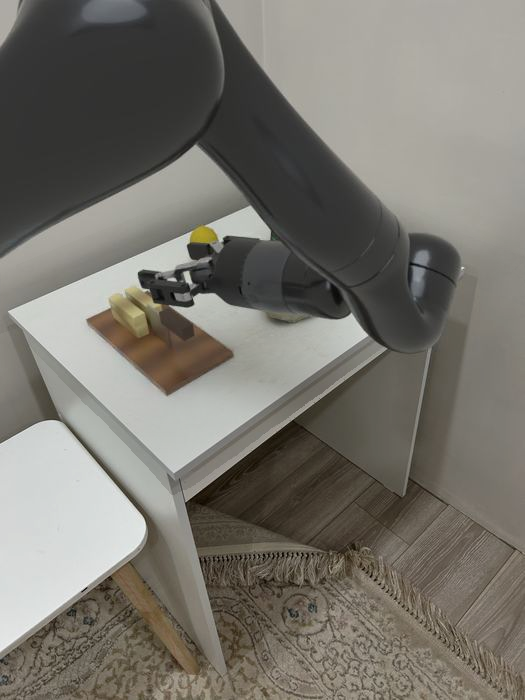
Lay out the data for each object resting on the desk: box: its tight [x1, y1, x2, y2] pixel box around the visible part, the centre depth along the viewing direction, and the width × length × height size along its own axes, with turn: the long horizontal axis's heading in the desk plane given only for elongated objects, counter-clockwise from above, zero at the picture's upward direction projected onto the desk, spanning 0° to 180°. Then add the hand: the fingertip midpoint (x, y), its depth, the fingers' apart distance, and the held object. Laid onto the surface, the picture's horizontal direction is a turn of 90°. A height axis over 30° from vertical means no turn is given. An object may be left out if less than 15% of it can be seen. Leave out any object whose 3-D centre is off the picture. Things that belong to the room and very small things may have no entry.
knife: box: [147, 304, 195, 346], centre depth 80 cm, size 11×2×7 cm, turn 41°
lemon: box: [189, 224, 220, 262], centre depth 101 cm, size 6×6×8 cm
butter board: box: [85, 285, 235, 397], centre depth 84 cm, size 24×12×5 cm, turn 41°
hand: (166, 264), depth 68 cm, fingers open, 8 cm apart
